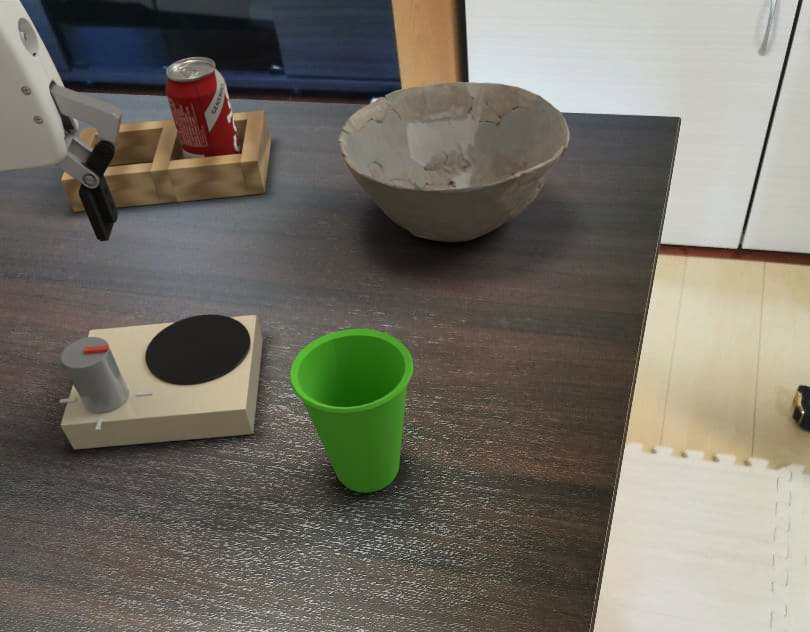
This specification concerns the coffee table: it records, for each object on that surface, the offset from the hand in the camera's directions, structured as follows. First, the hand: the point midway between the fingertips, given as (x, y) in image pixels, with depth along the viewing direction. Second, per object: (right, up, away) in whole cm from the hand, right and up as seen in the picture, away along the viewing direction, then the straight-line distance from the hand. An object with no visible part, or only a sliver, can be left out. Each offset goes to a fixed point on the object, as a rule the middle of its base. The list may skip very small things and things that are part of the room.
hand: (43, 238), depth 62 cm
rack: (-1, +22, +40) cm, 46 cm away
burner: (+8, -5, +14) cm, 17 cm away
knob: (+1, -10, +11) cm, 15 cm away
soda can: (+4, +22, +40) cm, 46 cm away
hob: (+5, -9, +15) cm, 18 cm away
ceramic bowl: (+32, +12, +29) cm, 45 cm away
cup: (+24, -17, +7) cm, 30 cm away
